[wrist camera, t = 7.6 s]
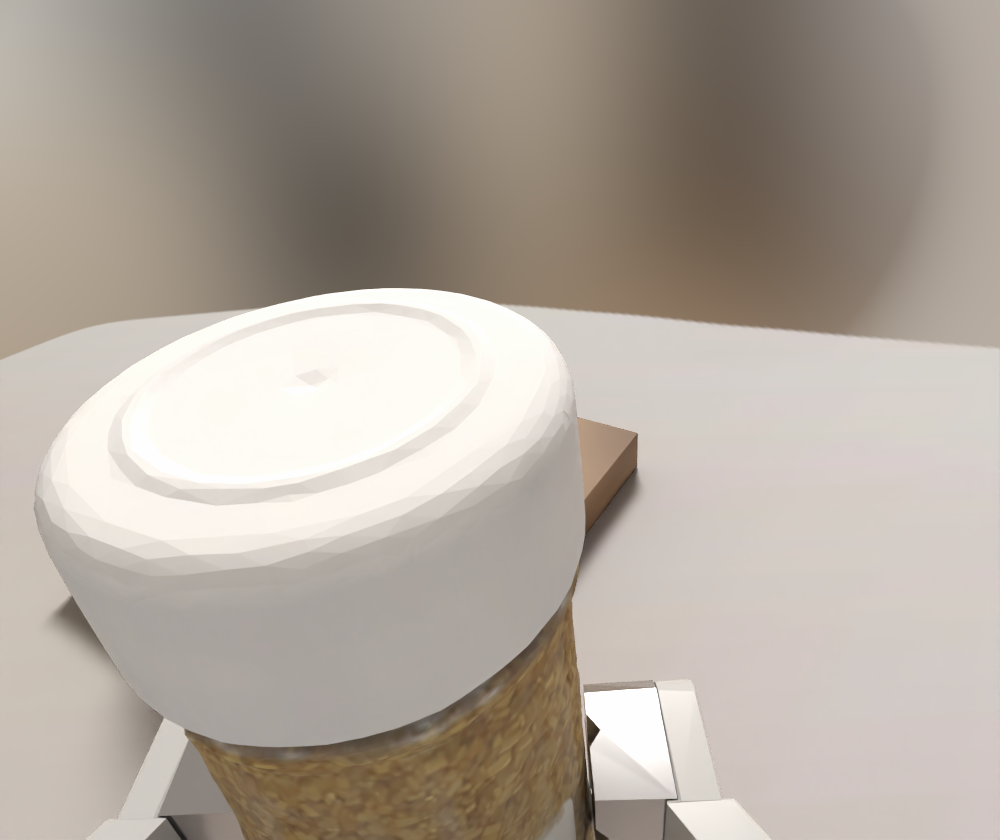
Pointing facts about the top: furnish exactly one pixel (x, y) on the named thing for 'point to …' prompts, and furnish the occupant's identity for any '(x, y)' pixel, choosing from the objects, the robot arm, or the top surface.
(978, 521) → the top surface
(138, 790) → the robot arm
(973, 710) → the top surface
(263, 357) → the sprinkles bottle
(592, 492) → the walnut collar block
